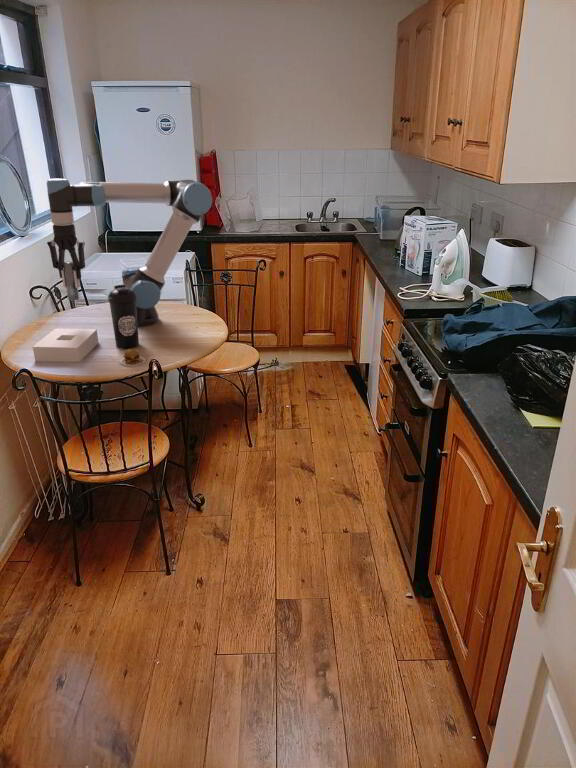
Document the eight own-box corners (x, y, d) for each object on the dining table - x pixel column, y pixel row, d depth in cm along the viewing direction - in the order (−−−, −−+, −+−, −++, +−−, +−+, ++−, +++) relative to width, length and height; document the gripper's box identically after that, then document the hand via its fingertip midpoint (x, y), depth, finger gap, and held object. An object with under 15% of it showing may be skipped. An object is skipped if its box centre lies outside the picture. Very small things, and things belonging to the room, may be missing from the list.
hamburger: (150, 356, 207) (149, 342, 205) (149, 368, 196) (148, 354, 194) (116, 358, 205) (115, 344, 202) (114, 371, 194) (112, 356, 192)
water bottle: (117, 351, 209) (109, 291, 199) (111, 343, 217) (104, 285, 208) (144, 347, 213) (138, 288, 204) (137, 339, 221) (131, 282, 212)
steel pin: (80, 297, 217) (76, 261, 211) (76, 300, 213) (71, 263, 207) (70, 297, 217) (65, 261, 211) (66, 300, 213) (61, 263, 208)
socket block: (98, 342, 217) (96, 329, 215) (79, 362, 199) (77, 347, 197) (57, 341, 218) (55, 328, 215) (35, 361, 199) (32, 346, 197)
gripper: (90, 223, 207) (97, 285, 216) (45, 221, 207) (54, 283, 217) (82, 226, 200) (90, 290, 209) (35, 224, 201) (45, 288, 210)
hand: (72, 286), depth 213 cm, fingers closed on steel pin, 4 cm apart
